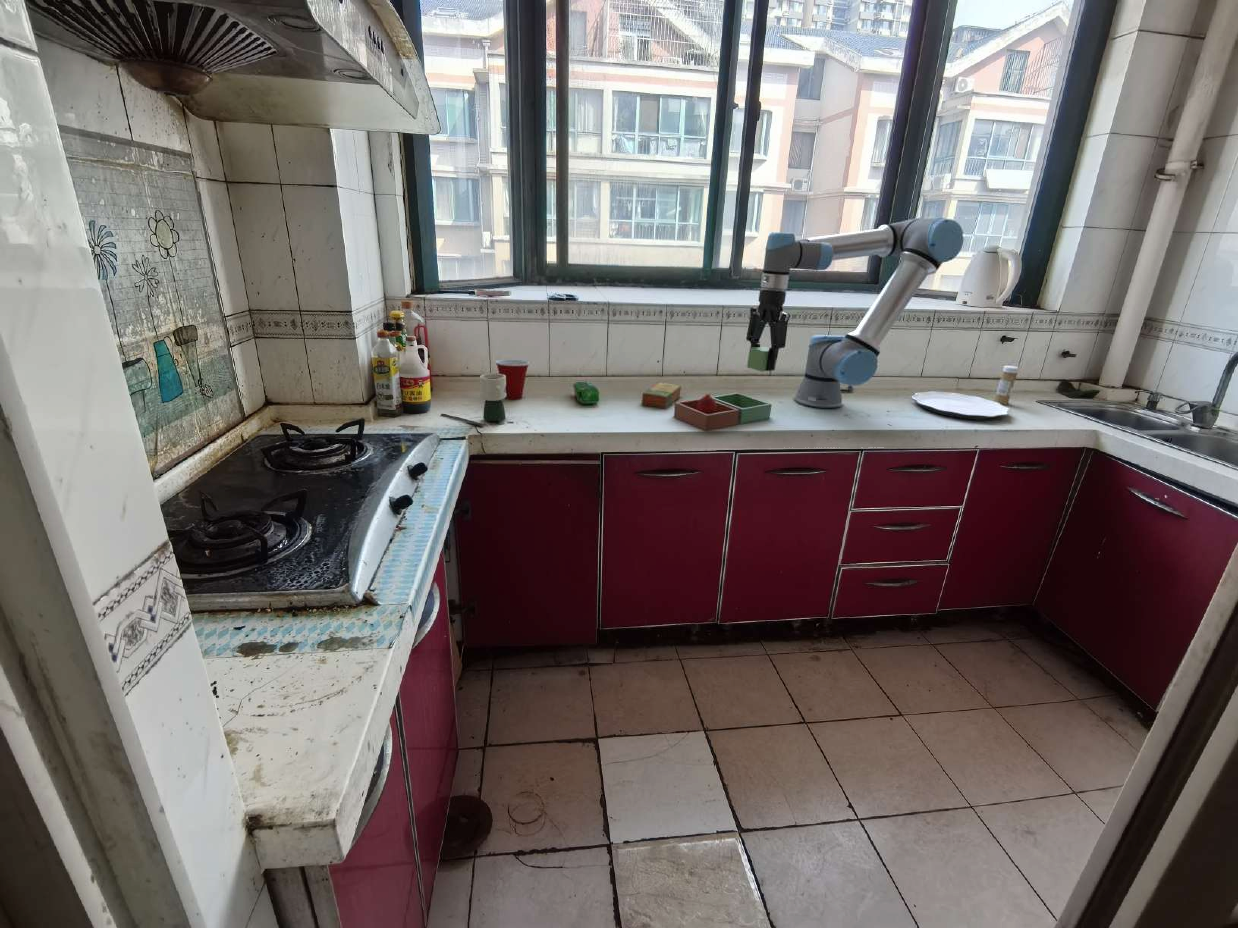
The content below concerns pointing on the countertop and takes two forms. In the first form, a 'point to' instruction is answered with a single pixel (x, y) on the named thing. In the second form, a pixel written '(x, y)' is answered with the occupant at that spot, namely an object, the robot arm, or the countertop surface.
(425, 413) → the countertop surface
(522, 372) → the plastic cup
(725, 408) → the brown bin
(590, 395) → the snack package
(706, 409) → the onion
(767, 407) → the green bin
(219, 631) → the countertop surface
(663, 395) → the carton
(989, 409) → the plate
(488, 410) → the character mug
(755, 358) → the green block
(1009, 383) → the sprinkles bottle
